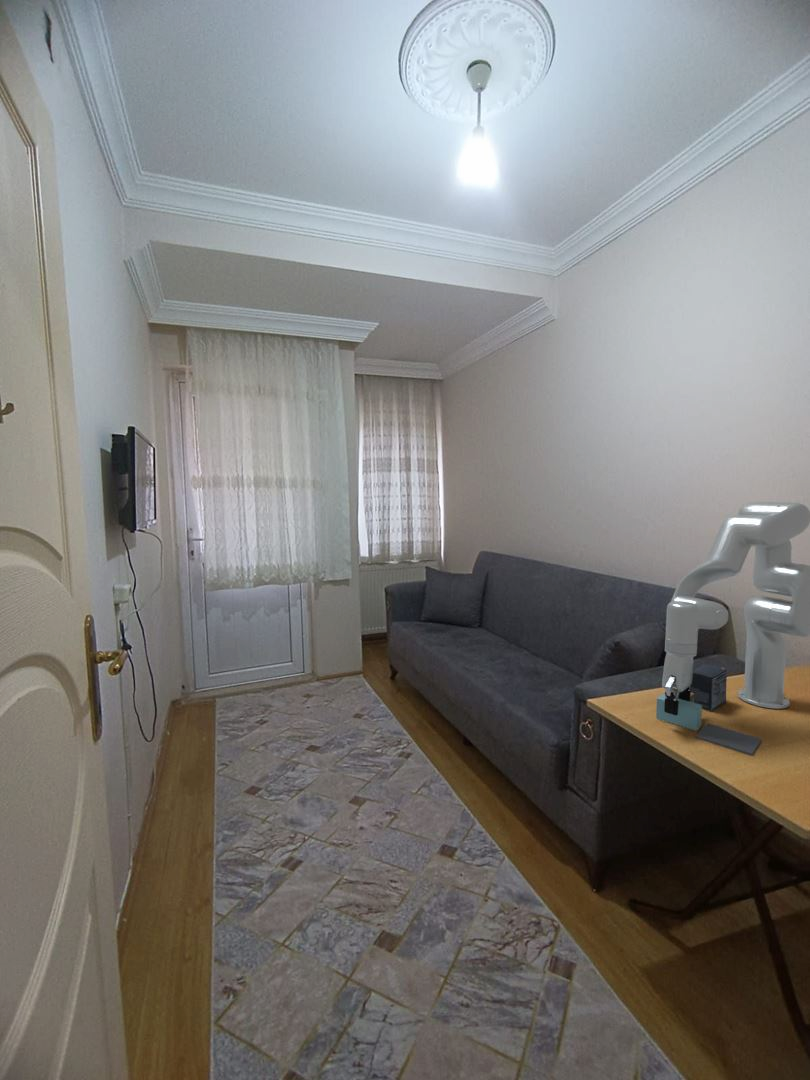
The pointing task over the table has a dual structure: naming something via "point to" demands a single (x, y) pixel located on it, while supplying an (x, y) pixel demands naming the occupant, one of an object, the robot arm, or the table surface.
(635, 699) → the table surface
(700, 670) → the small box
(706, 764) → the table surface
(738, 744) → the dark gray block
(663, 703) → the teal rectangular block
